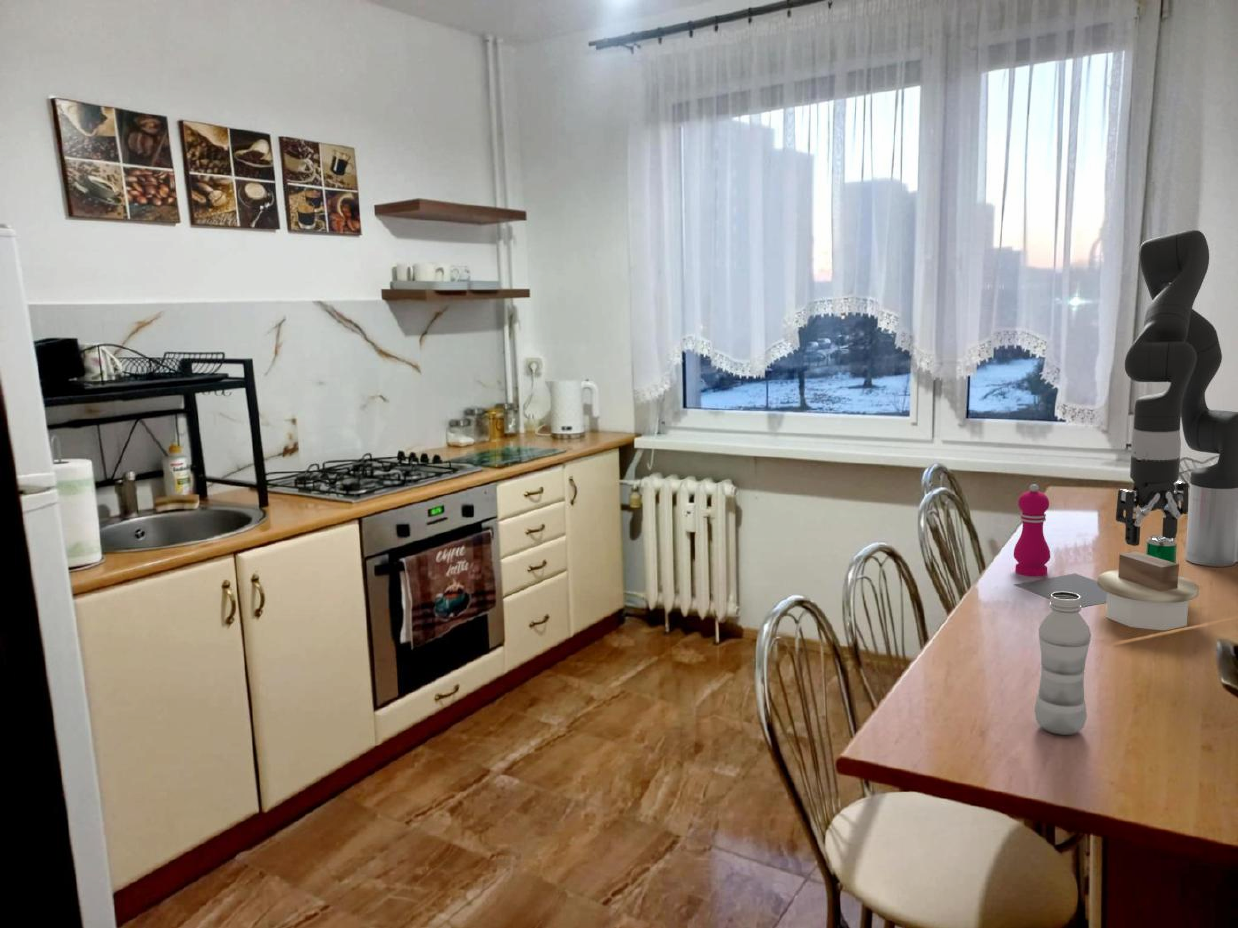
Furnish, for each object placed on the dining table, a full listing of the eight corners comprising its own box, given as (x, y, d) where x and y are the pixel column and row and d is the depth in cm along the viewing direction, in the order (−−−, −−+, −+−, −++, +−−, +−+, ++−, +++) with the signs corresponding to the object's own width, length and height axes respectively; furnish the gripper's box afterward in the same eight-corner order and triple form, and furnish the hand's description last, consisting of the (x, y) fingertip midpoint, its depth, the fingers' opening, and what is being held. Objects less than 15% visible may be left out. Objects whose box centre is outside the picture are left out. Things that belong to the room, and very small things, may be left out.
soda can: (1140, 597, 173) (1143, 538, 171) (1146, 590, 177) (1150, 533, 175) (1170, 602, 170) (1173, 542, 168) (1175, 595, 173) (1179, 536, 171)
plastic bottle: (1024, 720, 127) (1029, 590, 124) (1069, 716, 128) (1074, 586, 124) (1049, 742, 121) (1055, 605, 117) (1096, 738, 122) (1103, 601, 118)
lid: (1143, 569, 171) (1145, 542, 170) (1220, 594, 156) (1223, 564, 155) (1077, 581, 167) (1078, 553, 166) (1150, 608, 152) (1152, 577, 151)
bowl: (1142, 603, 170) (1143, 573, 169) (1202, 624, 158) (1204, 593, 157) (1090, 613, 166) (1091, 583, 165) (1148, 636, 155) (1149, 603, 154)
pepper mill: (1053, 579, 186) (1057, 487, 182) (1017, 579, 188) (1020, 488, 184) (1044, 568, 193) (1047, 480, 189) (1009, 568, 195) (1012, 480, 191)
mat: (1075, 575, 188) (1075, 573, 188) (1139, 598, 173) (1139, 595, 173) (1013, 586, 183) (1013, 584, 183) (1074, 610, 168) (1074, 608, 168)
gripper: (1167, 446, 162) (1162, 531, 165) (1106, 455, 158) (1102, 542, 161) (1205, 452, 155) (1199, 540, 158) (1142, 462, 151) (1138, 552, 154)
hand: (1150, 541), depth 160 cm, fingers open, 8 cm apart
